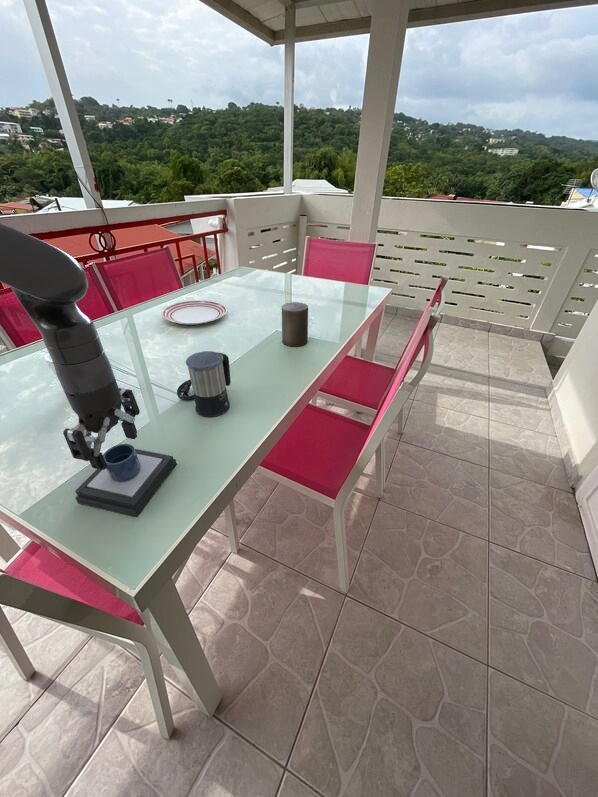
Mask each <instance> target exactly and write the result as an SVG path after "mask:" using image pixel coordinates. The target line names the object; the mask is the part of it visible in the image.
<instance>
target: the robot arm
mask: <svg viewBox="0 0 598 797" xmlns="http://www.w3.org/2000/svg"><path fill="white" fill-rule="evenodd" d="M0 283H1V284H4V285H6V286H8V287H10V289H11V290H12V292H13V294H14V295H15V297H16V300H18V302H19V303H20V305H21V307H22V308H23V310H24V311H25V312H26V314H27V315H28V317H29V319H30V320H31V321H32V323H33V324H34V325H35V327H36V329H37V330H38V332H39V334H40V335H41V338H42V342H43V344H44V345H45V348H46V350H47V353H49V355H50V357H51V359H52V361H53V364H54V368H55V371H56V374H57V377H58V378H57V377H56V378H57V380H58V379H59V380H58V381H59V383H60V386H61V387H62V390H63V392H64V394H65V396H66V399H67V401H68V403H69V406H70V408H71V409H72V411H73V412H74V413H75V415H77V417H78V424H76V425H75V426H74V427H72V428H67V427H66V428H65V429H64V430H63V432H62V435H63V436H64V439H65V442H66V444H67V446H68V448H69V451H70V453H71V456H72V458H73V459H74V460H75V459H76V460H80V461H85V462H89V463H90V466H91V467H92V469H95V470H97V469H100V470H105V469H106V468H107V467H108V466H107V464H106V461H105V459H104V457H103V453H102V452H101V450H102V444H103V443H105V441H106V436H107V434H108V433H110V431H111V429H113V427H115V426H117V425H118V424H119V421H120V422H121V423H120V425H121V428H122V430H123V433H124V436H125V438H127V439H129V440H135V439H136V438H138V430H137V427H136V424H135V421H136V416H139V415H140V412H141V411H140V407H139V405H138V402H137V400H136V397H135V395H134V391H133V390H132V389H128V388H122V387H119V385H118V382H117V379H116V376H115V374H114V370H113V367H112V365H111V362H110V360H109V358H108V356H107V354H106V352H105V350H104V346H103V344H102V342H101V339H100V335H99V333H98V330H97V328H96V326H95V323H94V321H93V320H92V319H91V318H90V317H89V316H88V315H86V314H85V313H84V312H83V311H82V310H81V309H80V307H79V305H78V304H77V302H79V301H81V300H82V299H83V298H84V297H85V295H86V294H87V292H88V288H89V280H88V276H87V273H86V271H85V269H84V268H83V266H82V265H81V263H79V261H78V260H77V259H76V258H74V257H73V256H72V255H70V254H69V253H68V252H65V251H64V250H62V249H60V248H58V247H56V246H54V245H52V244H50V243H48V242H46V241H43V240H41V239H39V238H37V237H35V236H33V235H30V234H29V233H26V232H23V231H21V230H19V229H17V228H14V227H12V226H10V225H8V224H6V223H4V222H1V221H0ZM122 408H123V410H122ZM92 433H94V434H97V436H93V435H92ZM92 443H93V444H92ZM92 445H93V446H92Z"/></svg>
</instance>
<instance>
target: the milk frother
mask: <svg viewBox="0 0 598 797" xmlns="http://www.w3.org/2000/svg"><path fill="white" fill-rule="evenodd" d="M185 365H186V366H187V371H188V376H189V379H187V380H185V381H184V382H182V383H181V384H180V385H179V386H178V388H177V390H176V395H177V397H178V398H179V399H181V400H184V401H193V400H194V404H195V406H194V407H195V408H194V409H195V412H196V413H197V414H198V415H200V416H202V417H206V418H208V417H209V418H211V417H212V418H213V417H218V416H220V415H223V414H225V413H226V412H227V411H228V410H229V408H230V407H231V403H230V400H229V396H228V390H227V387H229V386H231V382H232V381H231V369H230V368H231V367H230V359H229V357H228V355H227V354H226V353H224V352H218V351H217V352H216V351H212V350H208V351H207V350H205V351H199V352H195V353H193V354H191V355H189V356H188V357H187V358H186V360H185ZM191 388H192V392H193V394H191V395H189V393H190V390H191Z"/></svg>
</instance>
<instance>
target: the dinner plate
mask: <svg viewBox="0 0 598 797" xmlns="http://www.w3.org/2000/svg"><path fill="white" fill-rule="evenodd" d="M227 313H228V308H227V307H226V305H224V304H223V303H220V302H217V301H213V300H205V299H204V300H203V299H193V300H192V299H191V300H183V301H178V302H175V303H173V304H170V305H167V306H166V307H164V308H163V309H162V311H161V316H162V318H163V319H164V320H166V321H169V322H172V323H174V324H180V325H187V326H196V325H204V324H207V323H210V322H214V321H216V320H219V319H220V318H223V317H224V316H226V314H227Z"/></svg>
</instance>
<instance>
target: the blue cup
mask: <svg viewBox="0 0 598 797" xmlns="http://www.w3.org/2000/svg"><path fill="white" fill-rule="evenodd" d="M135 449H136V448H135V447H134V446H133V445H132V444H129V443H118V444H115V445H112V446H111V447H110V448H108V449H107V450H106V451H105V452H104V453H102V455H103V457H104V459H105V461H106V464H107V466H108V467H107V468H106V470H107V472H108V474H109V476H110V478H111V479H112V480H115V481H126V480H129V479H131V478H133V477H134V476H135V475H136V474H137V473H138V472H139V470H140V467H141V465H140V462H139V459H138V457H137V454H136V451H135Z"/></svg>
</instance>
